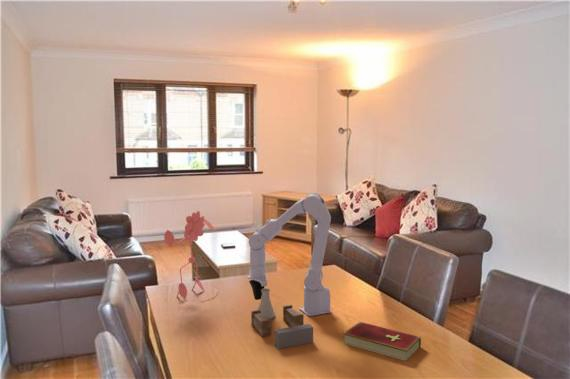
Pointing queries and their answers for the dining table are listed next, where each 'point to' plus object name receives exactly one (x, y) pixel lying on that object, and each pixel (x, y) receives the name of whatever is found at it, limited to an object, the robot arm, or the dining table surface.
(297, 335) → the stop
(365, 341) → the hardcover book
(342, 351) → the dining table surface
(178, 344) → the dining table surface
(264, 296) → the flask
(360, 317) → the dining table surface
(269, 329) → the housing
